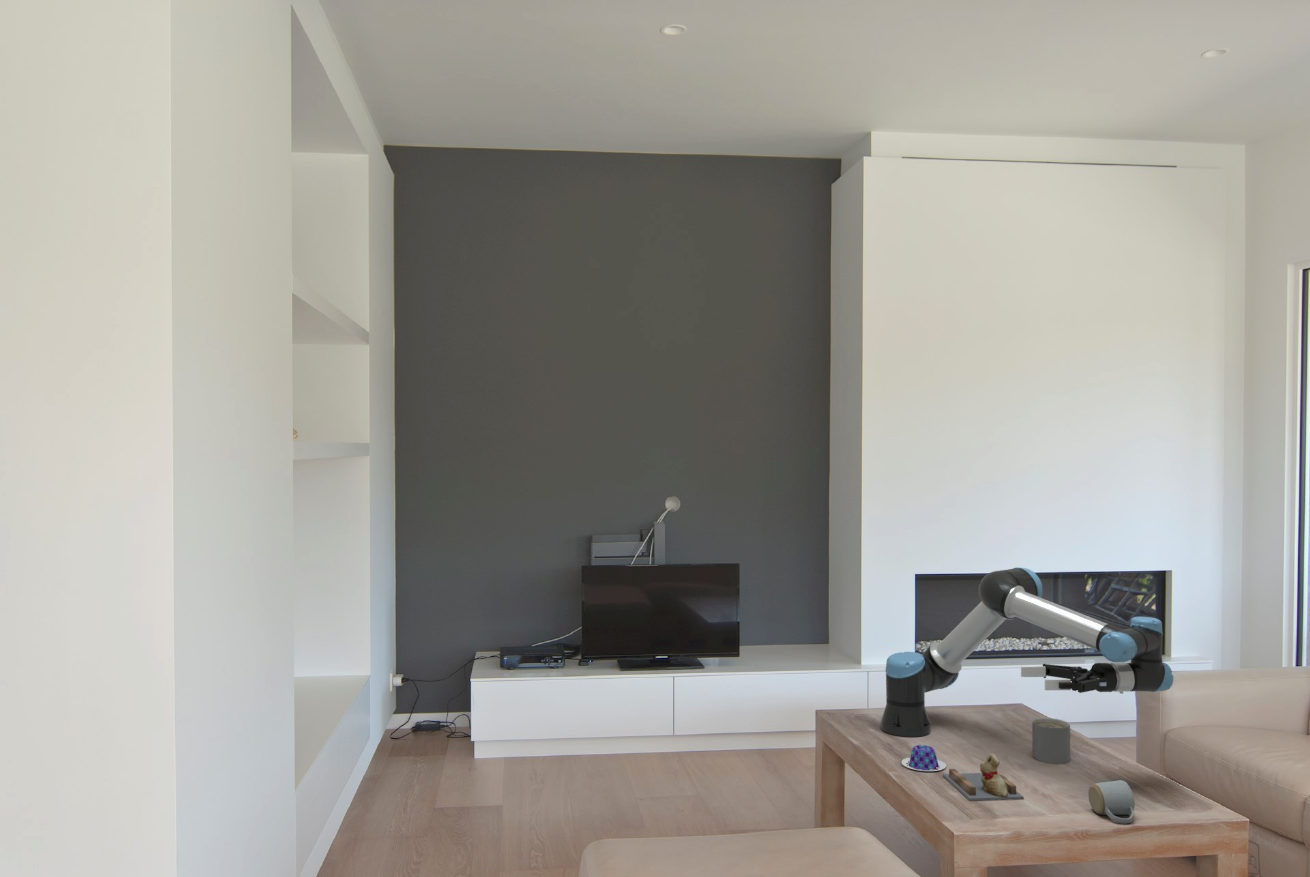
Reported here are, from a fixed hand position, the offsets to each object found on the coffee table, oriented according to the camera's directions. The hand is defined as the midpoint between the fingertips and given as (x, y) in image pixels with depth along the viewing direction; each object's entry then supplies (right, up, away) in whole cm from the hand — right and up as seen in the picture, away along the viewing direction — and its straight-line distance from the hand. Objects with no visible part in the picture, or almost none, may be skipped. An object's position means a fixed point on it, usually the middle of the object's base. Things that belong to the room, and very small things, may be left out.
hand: (1033, 678), depth 250 cm
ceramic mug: (+10, -27, -23) cm, 37 cm away
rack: (-15, -28, -4) cm, 31 cm away
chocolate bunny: (-13, -27, -9) cm, 31 cm away
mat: (-15, -28, -4) cm, 31 cm away
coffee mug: (+15, -28, +20) cm, 37 cm away
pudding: (-25, -28, +14) cm, 40 cm away
